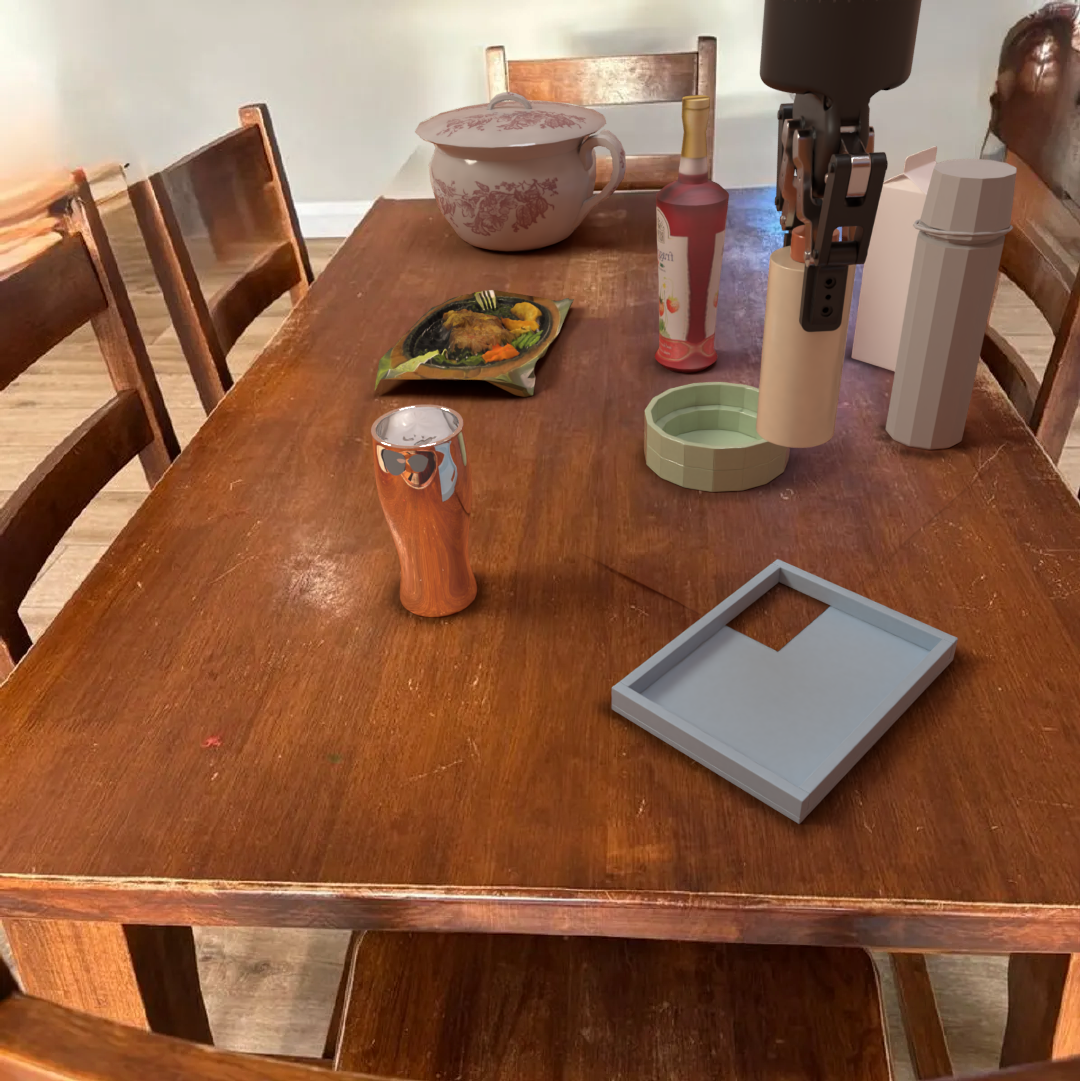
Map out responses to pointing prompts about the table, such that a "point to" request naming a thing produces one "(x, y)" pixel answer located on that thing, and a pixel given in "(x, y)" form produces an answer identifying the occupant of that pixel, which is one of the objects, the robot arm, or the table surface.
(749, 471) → the bowl
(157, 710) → the table surface
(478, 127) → the chamber pot
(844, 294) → the robot arm
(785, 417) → the bottle
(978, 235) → the water bottle
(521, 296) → the prepared meal
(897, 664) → the tray
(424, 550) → the beer glass
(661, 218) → the liquor
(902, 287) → the milk
